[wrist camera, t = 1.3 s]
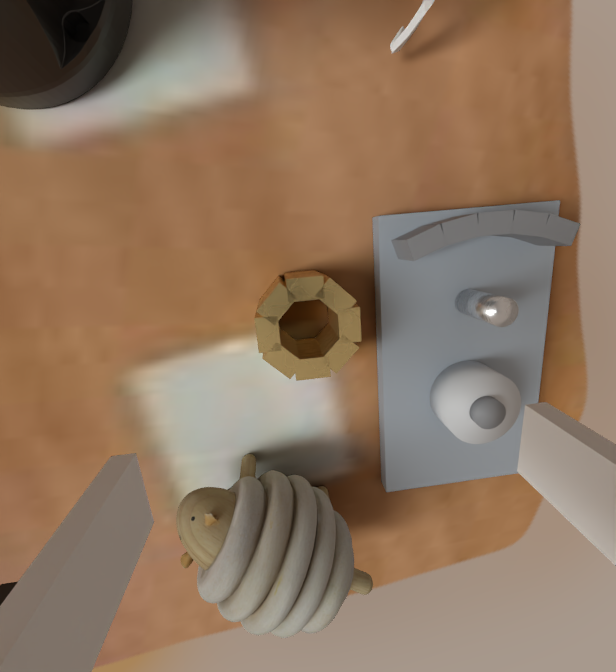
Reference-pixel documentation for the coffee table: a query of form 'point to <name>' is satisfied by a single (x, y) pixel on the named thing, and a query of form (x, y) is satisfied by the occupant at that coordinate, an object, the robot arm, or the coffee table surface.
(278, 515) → the toy sheep
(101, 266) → the coffee table surface
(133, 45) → the coffee table surface
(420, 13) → the origami figure
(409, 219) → the carrier plate
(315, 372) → the gold octagonal ring
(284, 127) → the coffee table surface
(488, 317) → the pin
